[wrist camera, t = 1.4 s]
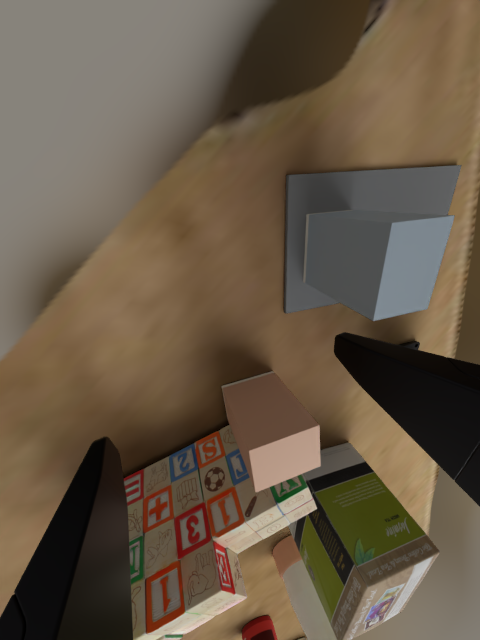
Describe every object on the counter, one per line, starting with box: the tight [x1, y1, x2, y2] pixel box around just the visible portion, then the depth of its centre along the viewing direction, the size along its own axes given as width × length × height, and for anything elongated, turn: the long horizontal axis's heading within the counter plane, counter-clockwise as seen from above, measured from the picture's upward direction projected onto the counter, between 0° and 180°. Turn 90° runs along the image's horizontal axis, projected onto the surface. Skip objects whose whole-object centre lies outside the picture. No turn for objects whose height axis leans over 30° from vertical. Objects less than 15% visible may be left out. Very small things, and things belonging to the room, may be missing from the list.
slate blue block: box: [303, 210, 455, 321], centre depth 20 cm, size 4×6×9 cm
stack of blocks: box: [124, 425, 317, 640], centre depth 25 cm, size 21×6×12 cm, turn 111°
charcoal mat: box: [284, 165, 461, 313], centre depth 25 cm, size 18×12×1 cm, turn 94°
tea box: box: [288, 443, 440, 640], centre depth 34 cm, size 15×10×15 cm
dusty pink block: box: [221, 371, 321, 492], centre depth 24 cm, size 4×6×9 cm
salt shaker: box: [272, 535, 337, 640], centre depth 40 cm, size 7×7×19 cm
